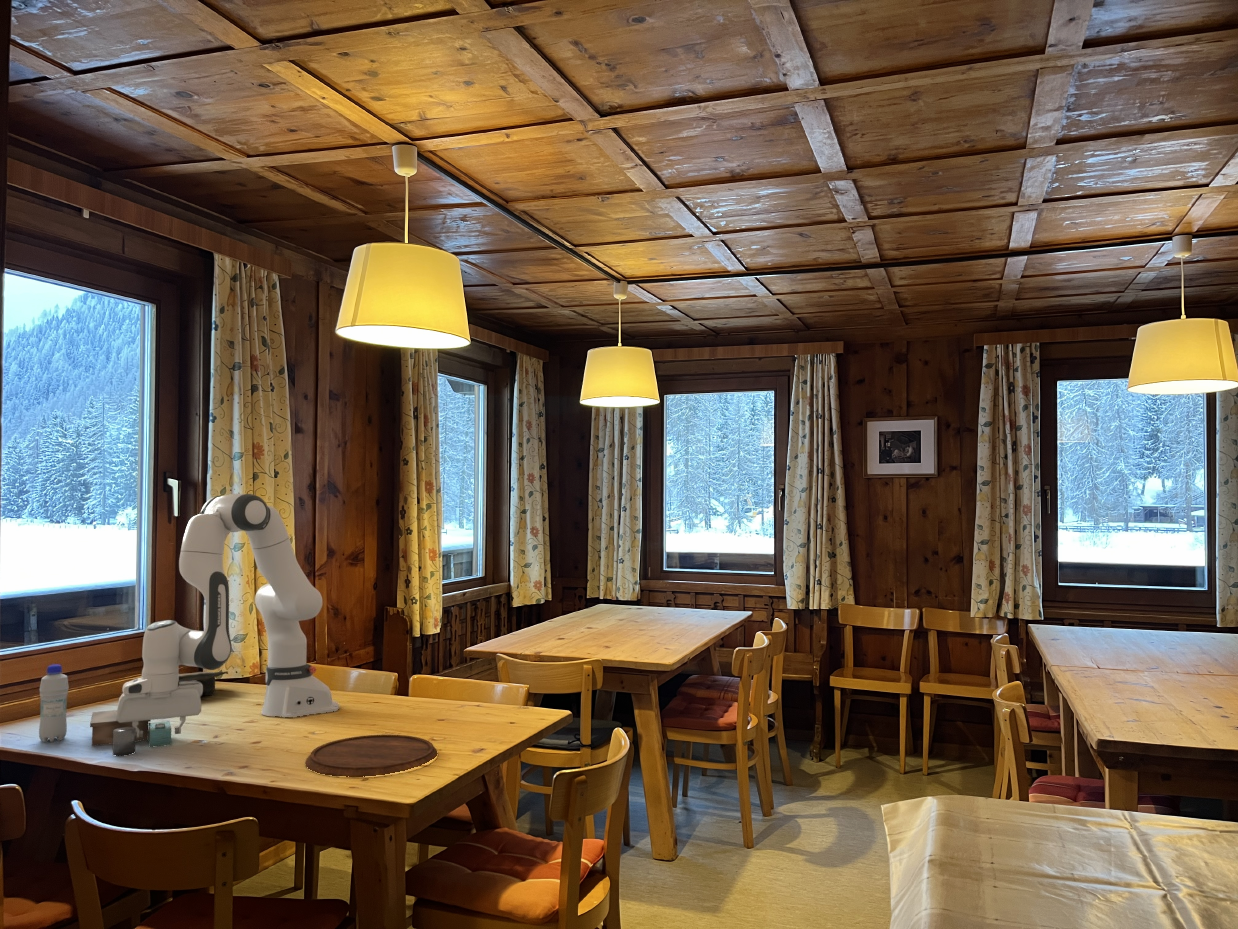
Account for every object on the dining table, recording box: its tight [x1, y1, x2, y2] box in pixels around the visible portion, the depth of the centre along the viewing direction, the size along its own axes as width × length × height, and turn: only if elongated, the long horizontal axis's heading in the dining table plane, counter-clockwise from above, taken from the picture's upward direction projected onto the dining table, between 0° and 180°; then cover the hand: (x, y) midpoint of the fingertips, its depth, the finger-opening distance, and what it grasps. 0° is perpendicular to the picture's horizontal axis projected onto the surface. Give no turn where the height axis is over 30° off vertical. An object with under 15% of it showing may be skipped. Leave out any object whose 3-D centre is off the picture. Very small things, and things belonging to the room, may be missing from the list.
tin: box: [112, 727, 137, 757], centre depth 230 cm, size 5×5×6 cm
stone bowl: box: [178, 671, 229, 698], centre depth 297 cm, size 25×25×9 cm
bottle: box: [38, 664, 70, 743], centre depth 243 cm, size 7×7×20 cm
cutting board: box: [304, 734, 439, 777], centre depth 227 cm, size 32×32×2 cm
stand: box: [89, 709, 151, 747], centre depth 245 cm, size 14×14×6 cm
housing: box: [147, 720, 172, 748], centre depth 241 cm, size 5×9×5 cm, turn 29°
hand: (158, 735), depth 241 cm, fingers open, 8 cm apart
